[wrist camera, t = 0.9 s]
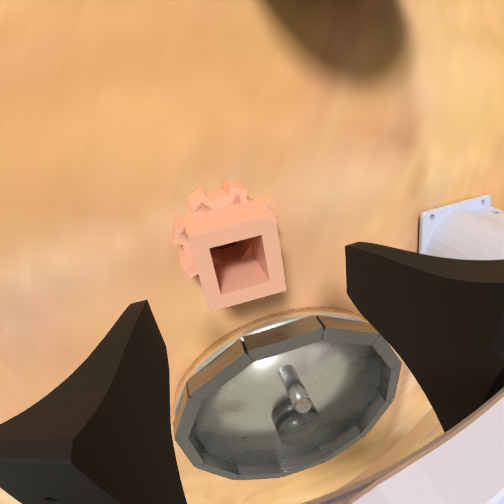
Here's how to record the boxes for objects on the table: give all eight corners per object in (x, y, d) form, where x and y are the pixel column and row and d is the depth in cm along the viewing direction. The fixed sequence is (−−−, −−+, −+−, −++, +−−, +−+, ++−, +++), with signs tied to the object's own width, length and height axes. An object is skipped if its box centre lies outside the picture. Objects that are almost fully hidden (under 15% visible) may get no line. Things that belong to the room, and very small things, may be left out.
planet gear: (260, 172, 17) (293, 189, 13) (275, 260, 19) (306, 301, 15) (163, 195, 16) (159, 220, 12) (188, 283, 18) (194, 332, 14)
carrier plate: (391, 274, 22) (435, 308, 17) (374, 419, 30) (396, 451, 25) (136, 349, 19) (131, 407, 15) (210, 474, 27) (219, 514, 22)
